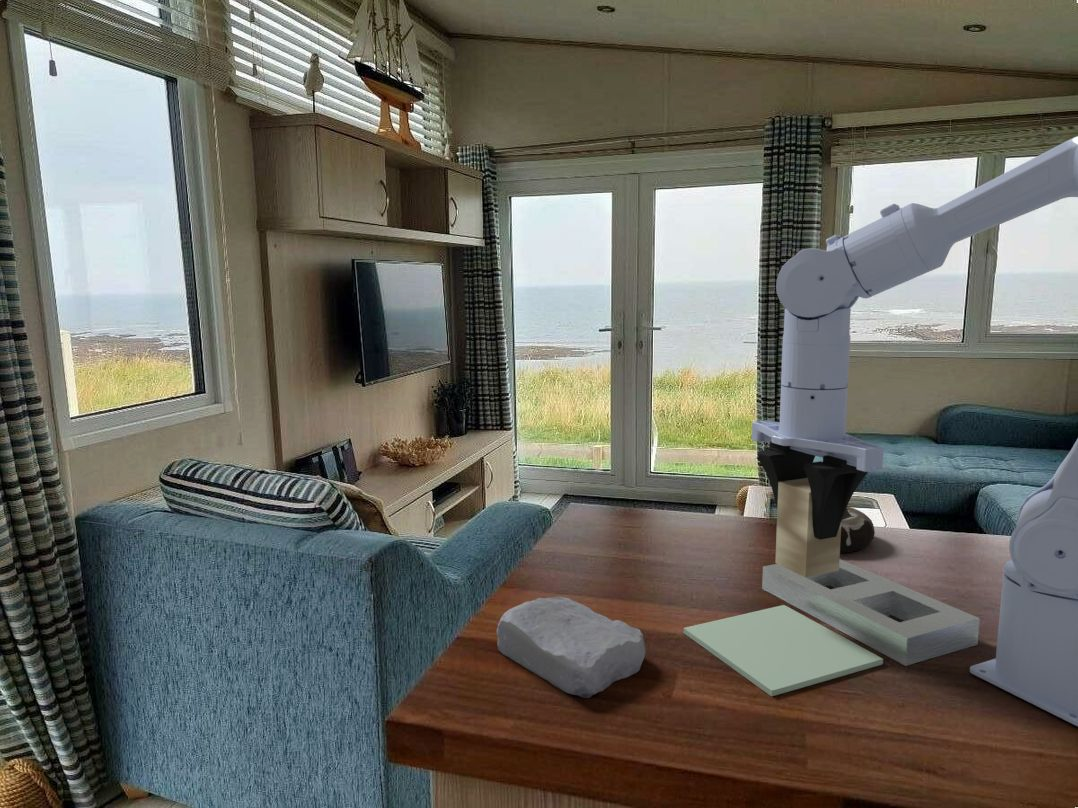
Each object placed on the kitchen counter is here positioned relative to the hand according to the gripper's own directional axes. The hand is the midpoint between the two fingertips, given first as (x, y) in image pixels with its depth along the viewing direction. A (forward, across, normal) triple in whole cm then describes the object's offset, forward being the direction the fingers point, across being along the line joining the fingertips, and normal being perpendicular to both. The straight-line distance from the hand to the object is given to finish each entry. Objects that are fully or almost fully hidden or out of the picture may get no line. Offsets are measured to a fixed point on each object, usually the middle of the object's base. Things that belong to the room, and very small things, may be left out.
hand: (807, 529), depth 69 cm
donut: (+10, -18, +19) cm, 28 cm away
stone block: (+10, -3, -22) cm, 25 cm away
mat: (+9, +3, -5) cm, 11 cm away
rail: (+9, +1, +7) cm, 12 cm away
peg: (+4, 0, 0) cm, 4 cm away
